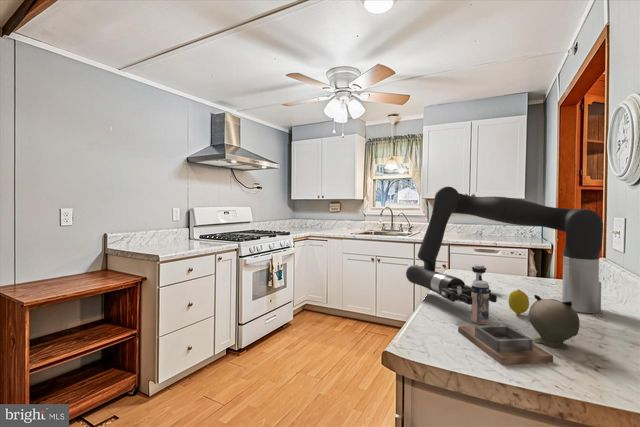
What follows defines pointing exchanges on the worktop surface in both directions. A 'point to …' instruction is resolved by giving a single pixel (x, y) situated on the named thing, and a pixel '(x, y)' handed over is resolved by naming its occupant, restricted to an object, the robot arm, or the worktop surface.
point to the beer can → (480, 302)
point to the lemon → (518, 301)
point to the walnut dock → (505, 344)
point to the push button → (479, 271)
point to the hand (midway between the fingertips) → (483, 300)
